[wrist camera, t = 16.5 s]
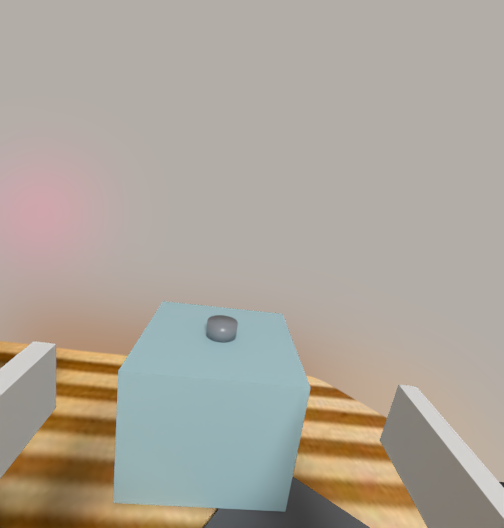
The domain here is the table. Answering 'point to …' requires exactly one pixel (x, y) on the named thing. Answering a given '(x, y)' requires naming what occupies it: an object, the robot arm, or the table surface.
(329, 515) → the rubber mat
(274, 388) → the cover tub
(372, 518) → the table surface
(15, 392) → the robot arm
